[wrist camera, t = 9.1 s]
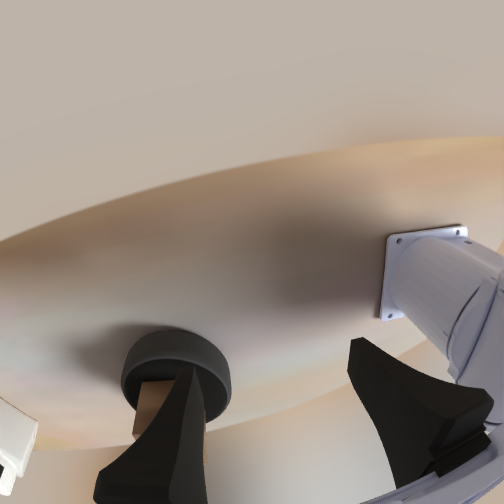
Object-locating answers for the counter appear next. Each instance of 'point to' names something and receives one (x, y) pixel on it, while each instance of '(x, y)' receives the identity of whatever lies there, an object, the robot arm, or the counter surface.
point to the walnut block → (154, 407)
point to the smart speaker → (178, 367)
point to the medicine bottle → (14, 444)
